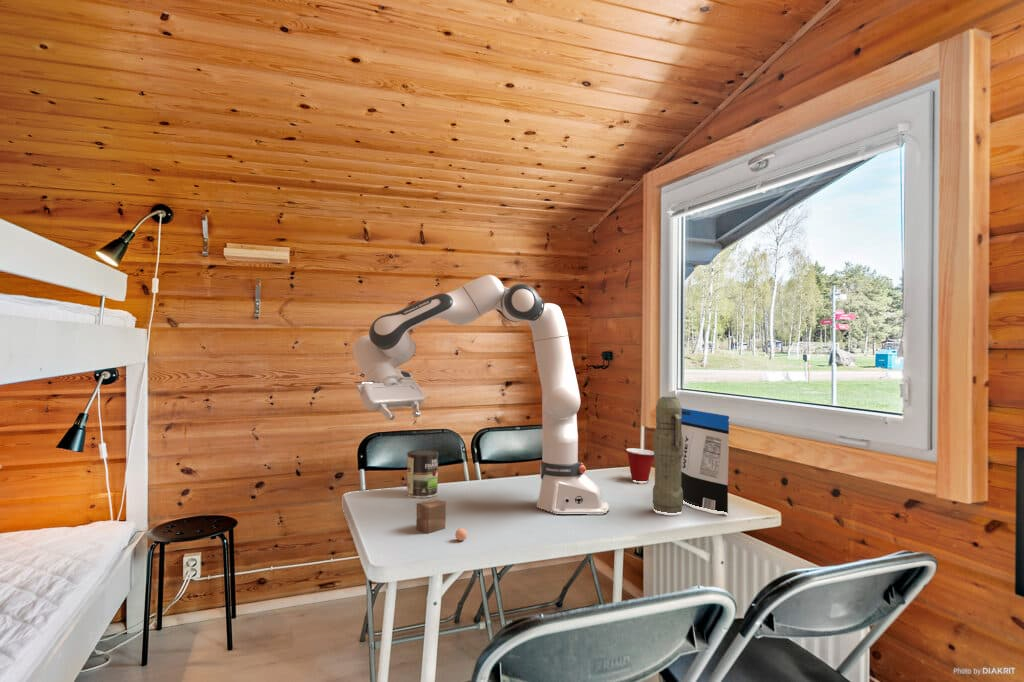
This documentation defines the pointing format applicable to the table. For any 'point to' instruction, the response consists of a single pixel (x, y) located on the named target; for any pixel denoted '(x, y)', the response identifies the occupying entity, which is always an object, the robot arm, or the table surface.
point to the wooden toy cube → (431, 515)
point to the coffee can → (422, 473)
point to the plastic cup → (640, 463)
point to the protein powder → (705, 459)
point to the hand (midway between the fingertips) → (405, 417)
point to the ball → (461, 534)
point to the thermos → (668, 456)
